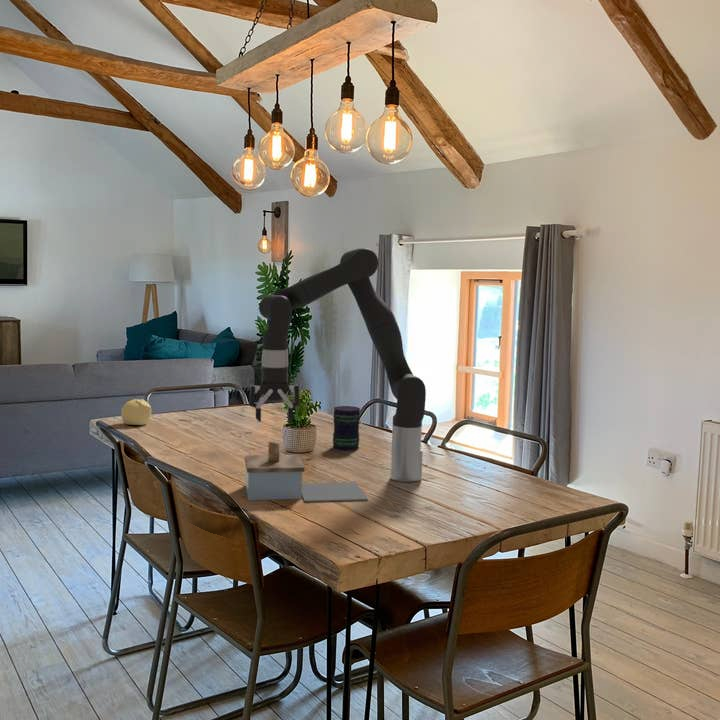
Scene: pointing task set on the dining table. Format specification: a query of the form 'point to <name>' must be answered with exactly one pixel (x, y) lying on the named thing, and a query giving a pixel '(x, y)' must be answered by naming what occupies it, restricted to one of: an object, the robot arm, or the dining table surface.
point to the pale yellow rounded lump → (136, 412)
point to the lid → (273, 461)
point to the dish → (273, 485)
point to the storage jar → (346, 428)
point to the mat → (332, 492)
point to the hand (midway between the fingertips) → (274, 420)
